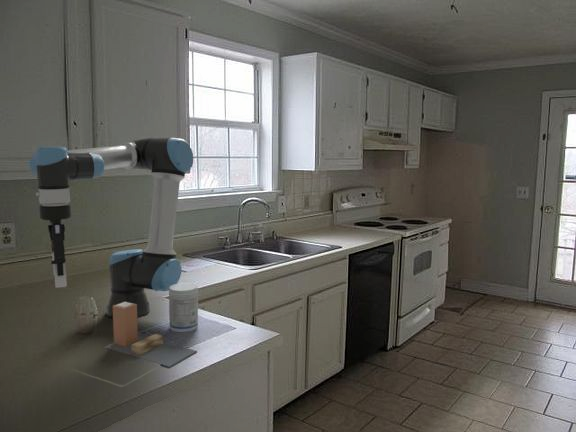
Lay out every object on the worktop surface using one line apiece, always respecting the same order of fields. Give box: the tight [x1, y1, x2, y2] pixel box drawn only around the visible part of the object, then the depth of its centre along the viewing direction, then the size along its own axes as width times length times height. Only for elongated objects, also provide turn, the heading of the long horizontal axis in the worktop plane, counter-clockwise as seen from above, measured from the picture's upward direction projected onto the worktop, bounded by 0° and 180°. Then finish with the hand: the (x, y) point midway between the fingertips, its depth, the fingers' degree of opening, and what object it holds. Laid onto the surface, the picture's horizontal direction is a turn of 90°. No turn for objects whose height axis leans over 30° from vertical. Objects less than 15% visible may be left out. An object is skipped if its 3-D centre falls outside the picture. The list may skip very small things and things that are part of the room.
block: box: [112, 302, 139, 347], centre depth 149 cm, size 5×5×12 cm
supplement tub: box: [168, 282, 199, 333], centre depth 162 cm, size 10×10×15 cm
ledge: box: [131, 333, 164, 355], centre depth 145 cm, size 10×3×3 cm, turn 152°
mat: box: [104, 334, 198, 369], centre depth 145 cm, size 12×26×1 cm, turn 62°
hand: (59, 280), depth 133 cm, fingers open, 13 cm apart
